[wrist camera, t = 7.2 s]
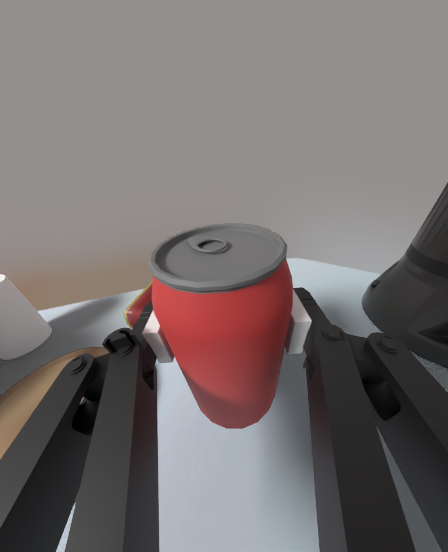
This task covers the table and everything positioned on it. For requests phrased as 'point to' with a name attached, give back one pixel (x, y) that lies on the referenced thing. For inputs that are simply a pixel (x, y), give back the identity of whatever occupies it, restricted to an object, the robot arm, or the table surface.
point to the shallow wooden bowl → (32, 395)
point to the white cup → (19, 323)
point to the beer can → (225, 315)
